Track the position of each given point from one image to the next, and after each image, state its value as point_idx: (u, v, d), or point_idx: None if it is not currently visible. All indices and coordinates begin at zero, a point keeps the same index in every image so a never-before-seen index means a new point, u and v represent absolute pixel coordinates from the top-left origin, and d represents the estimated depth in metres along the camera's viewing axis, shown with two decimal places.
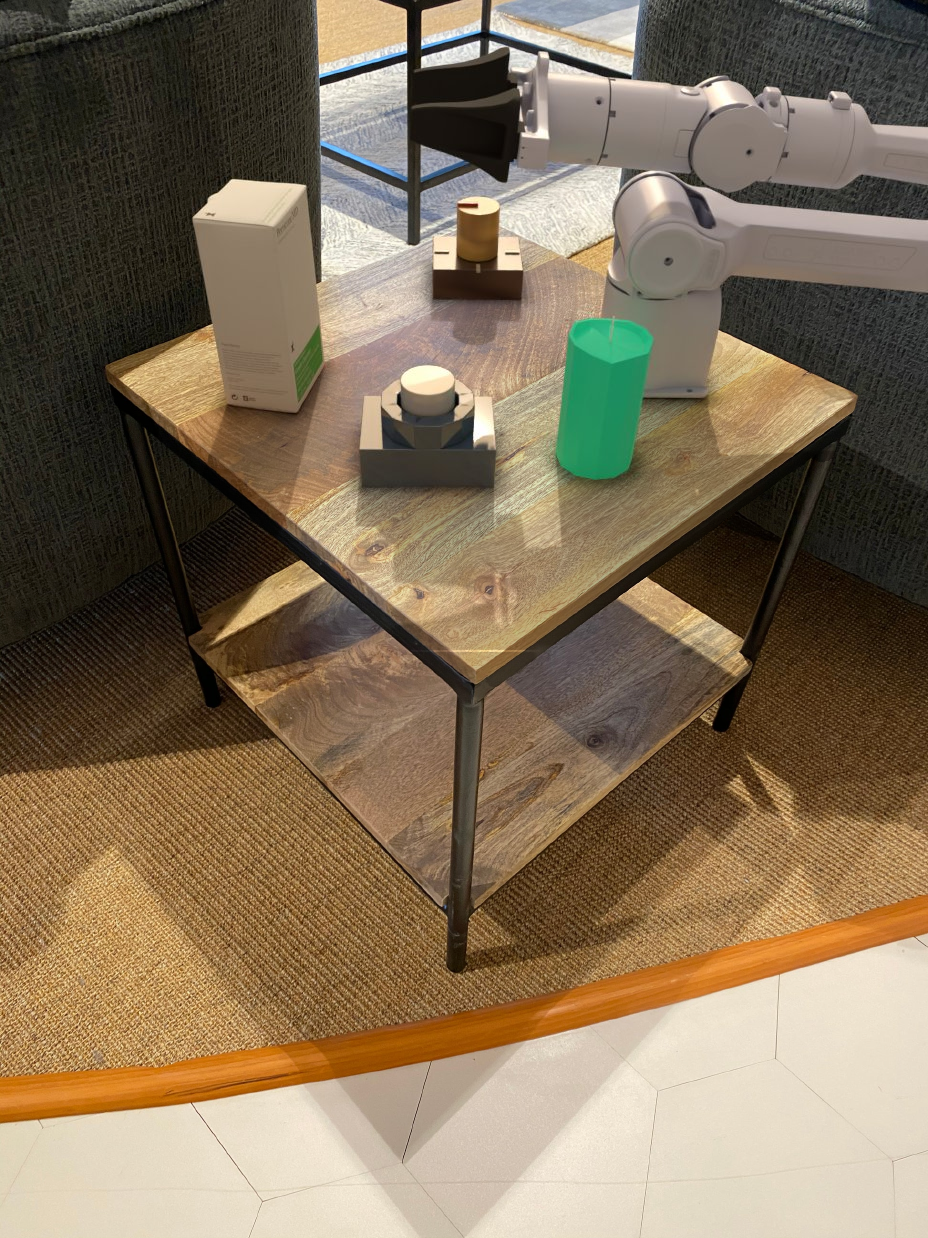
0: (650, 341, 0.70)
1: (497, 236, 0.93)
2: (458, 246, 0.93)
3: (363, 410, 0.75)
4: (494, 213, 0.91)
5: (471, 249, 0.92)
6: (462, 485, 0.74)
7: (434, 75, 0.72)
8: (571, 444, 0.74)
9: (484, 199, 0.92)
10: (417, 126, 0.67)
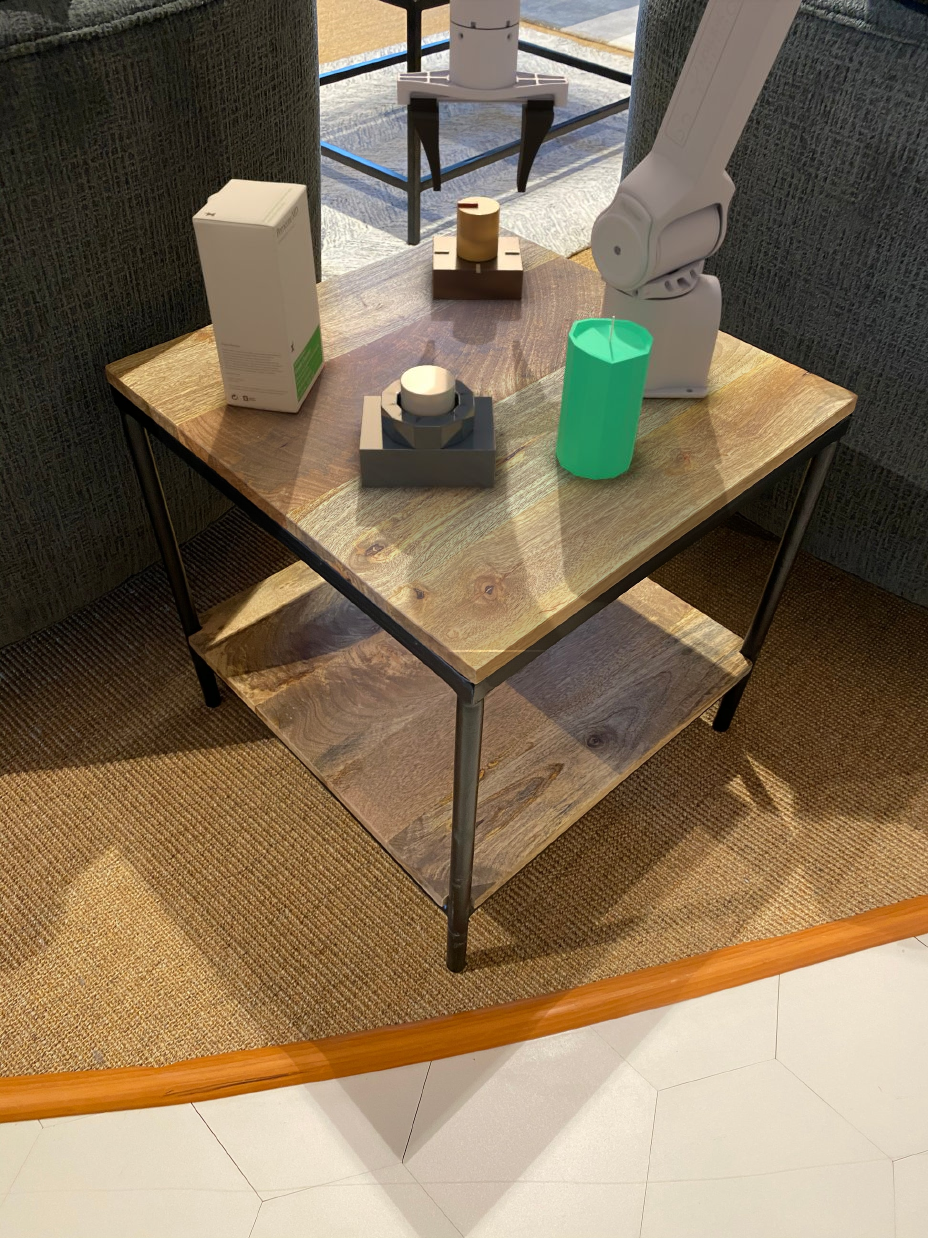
0: (650, 341, 0.70)
1: (497, 236, 0.93)
2: (458, 246, 0.93)
3: (363, 410, 0.75)
4: (494, 213, 0.91)
5: (471, 249, 0.92)
6: (462, 485, 0.74)
7: None
8: (571, 444, 0.74)
9: (484, 199, 0.92)
10: None
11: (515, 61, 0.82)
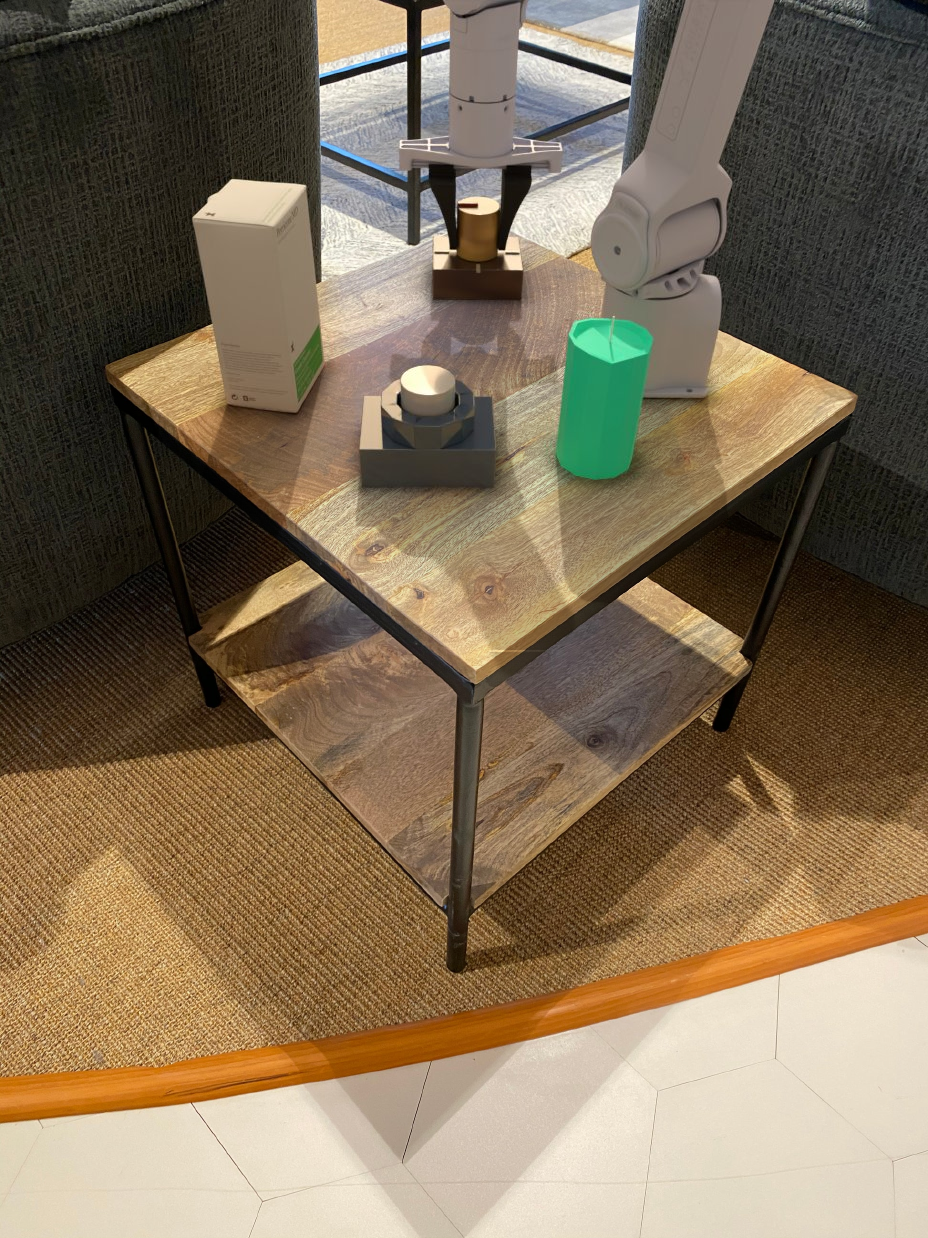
0: (650, 341, 0.70)
1: (497, 236, 0.93)
2: (458, 246, 0.93)
3: (363, 410, 0.75)
4: (494, 213, 0.91)
5: (471, 249, 0.92)
6: (462, 485, 0.74)
7: None
8: (571, 444, 0.74)
9: (484, 199, 0.92)
10: None
11: (512, 130, 0.86)
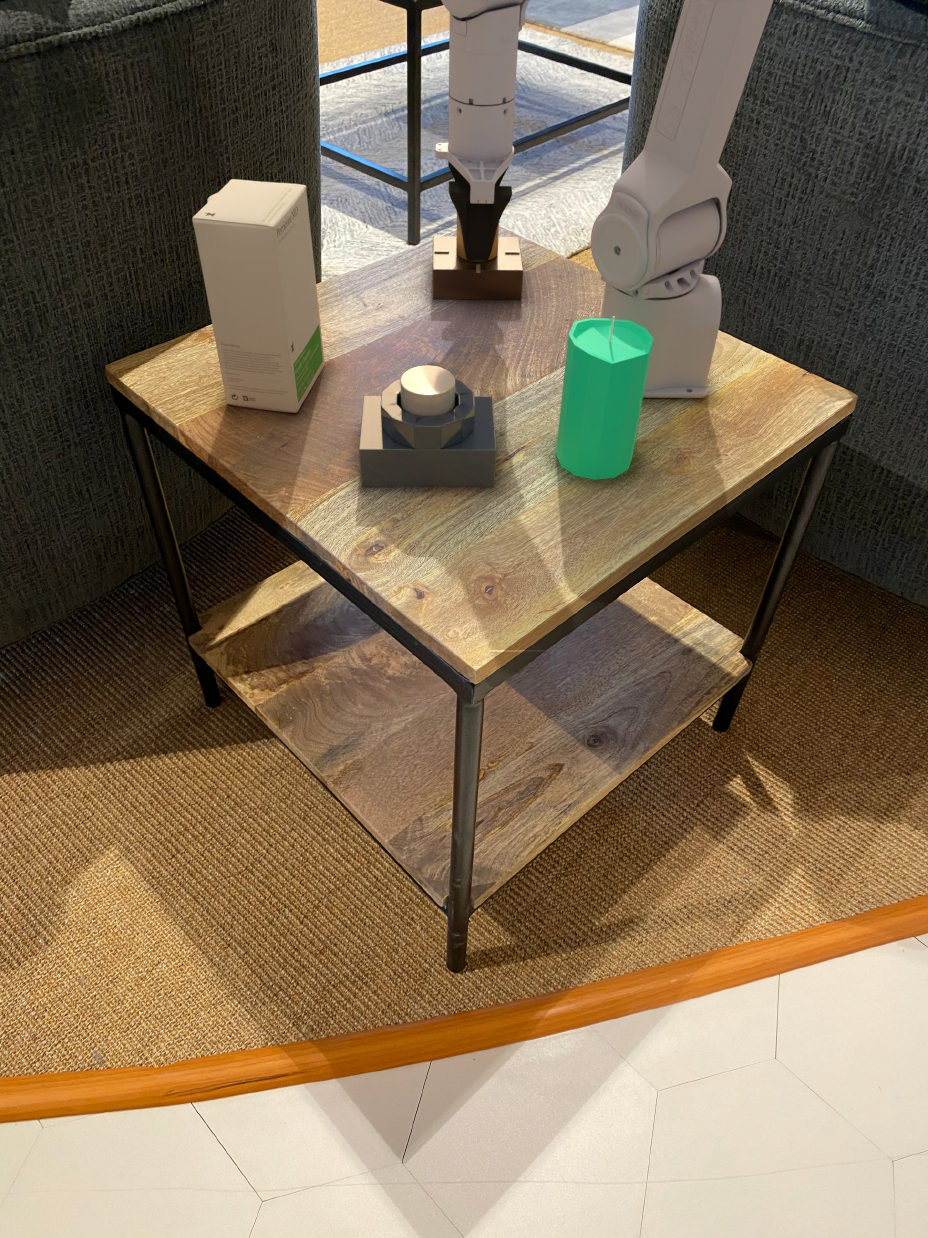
0: (650, 341, 0.70)
1: None
2: None
3: (363, 410, 0.75)
4: None
5: (497, 243, 0.93)
6: (462, 485, 0.74)
7: None
8: (571, 444, 0.74)
9: None
10: (478, 255, 0.92)
11: None
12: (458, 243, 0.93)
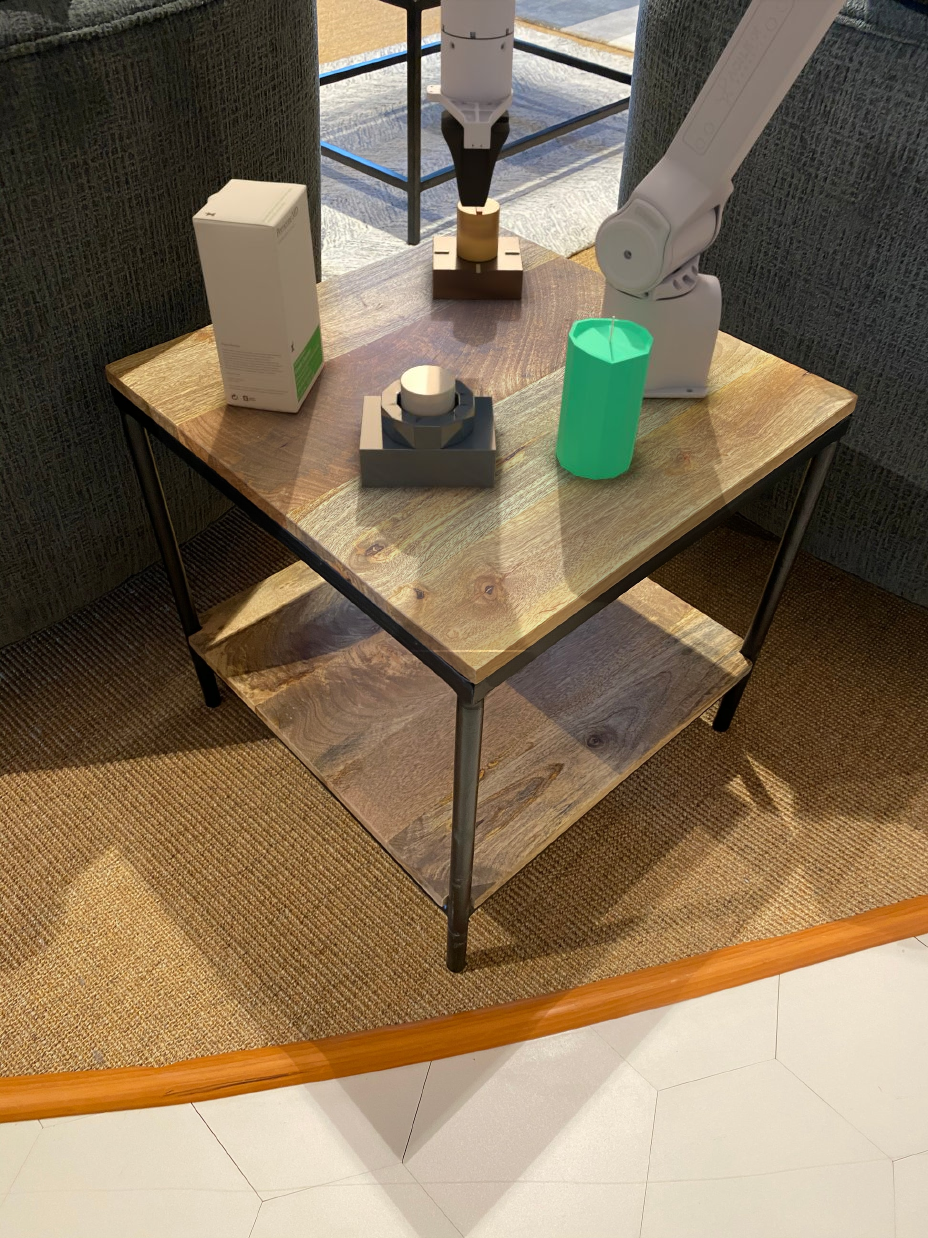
0: (650, 341, 0.70)
1: None
2: (487, 251, 0.93)
3: (363, 410, 0.75)
4: (493, 200, 0.93)
5: (497, 243, 0.93)
6: (462, 485, 0.74)
7: None
8: (571, 444, 0.74)
9: None
10: (473, 201, 0.85)
11: None
12: (458, 243, 0.93)
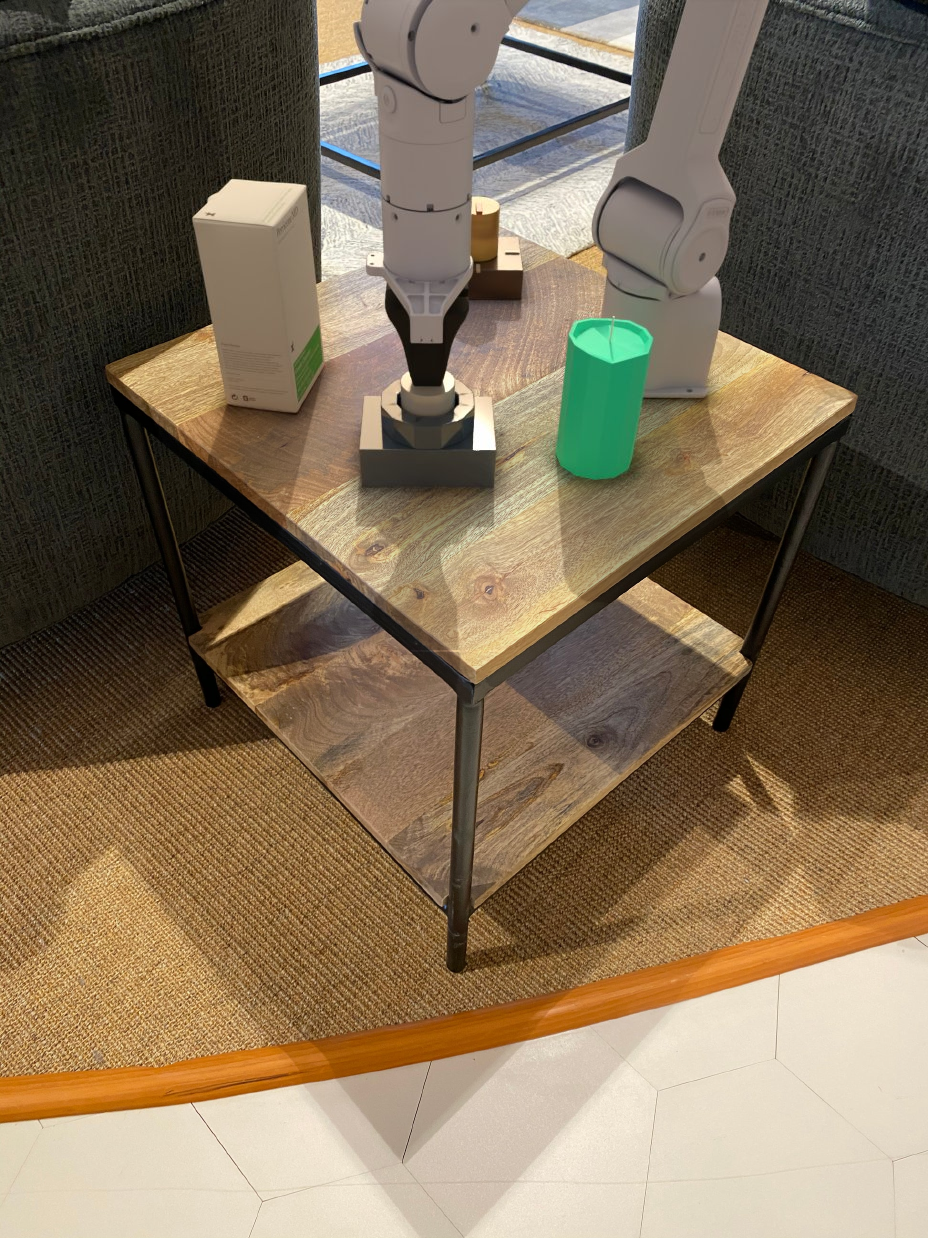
0: (650, 341, 0.70)
1: None
2: (487, 251, 0.93)
3: (363, 410, 0.75)
4: (493, 200, 0.93)
5: (497, 243, 0.93)
6: (462, 485, 0.74)
7: None
8: (571, 444, 0.74)
9: None
10: (427, 381, 0.71)
11: None
12: None
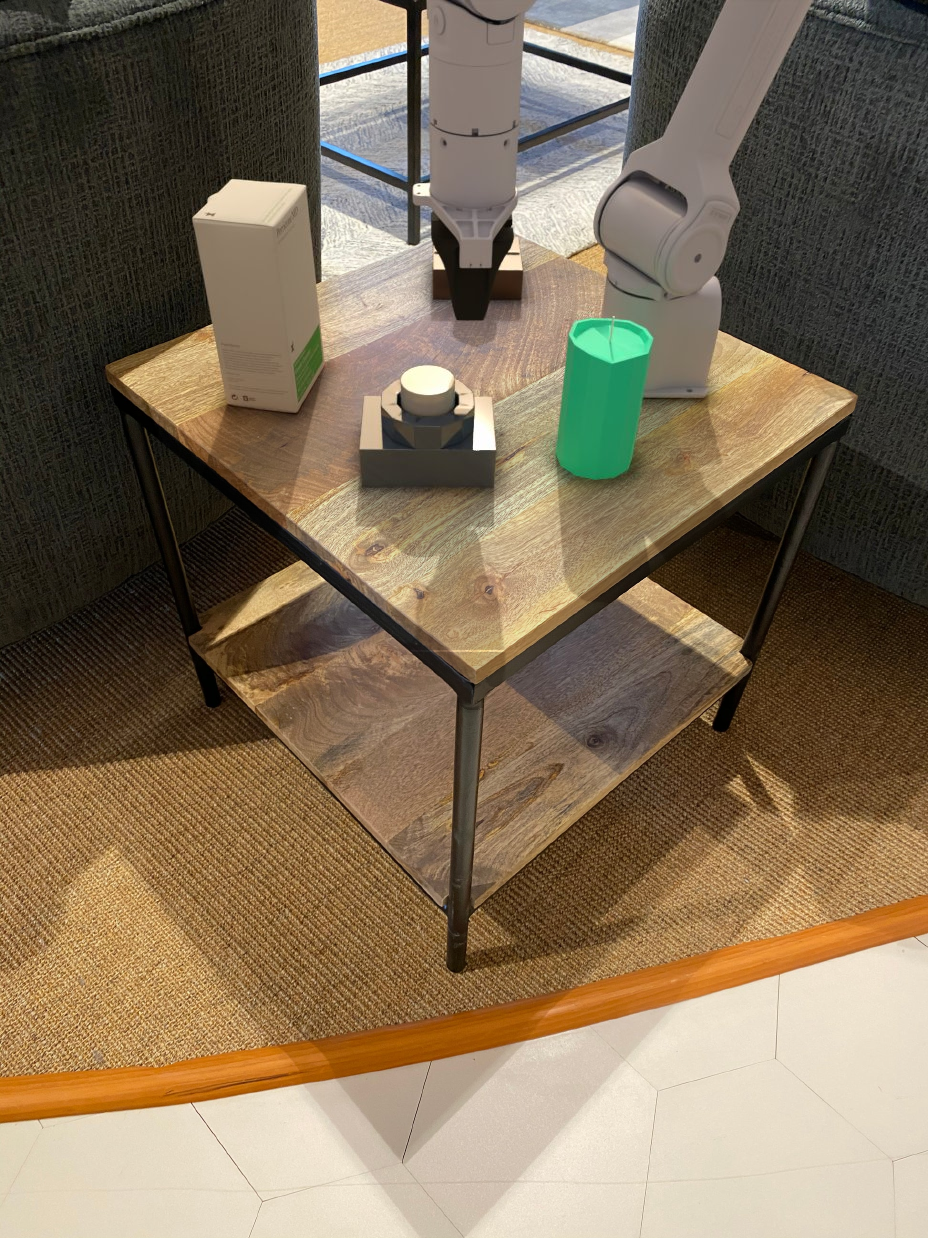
0: (650, 341, 0.70)
1: None
2: None
3: (363, 410, 0.75)
4: None
5: None
6: (462, 485, 0.74)
7: None
8: (571, 444, 0.74)
9: None
10: (470, 314, 0.72)
11: None
12: None
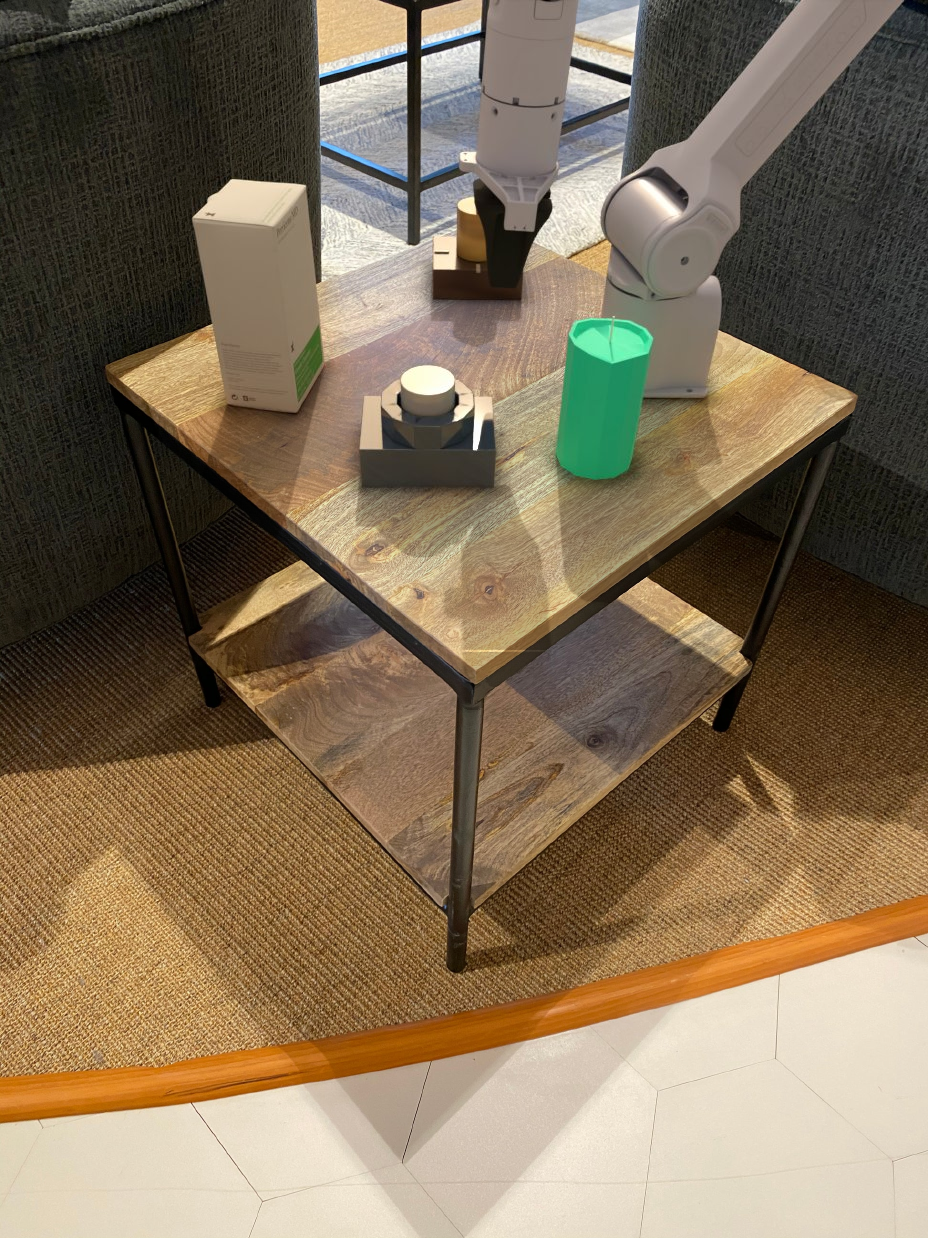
0: (650, 341, 0.70)
1: None
2: None
3: (363, 410, 0.75)
4: None
5: None
6: (462, 485, 0.74)
7: None
8: (571, 444, 0.74)
9: (464, 202, 0.92)
10: (504, 282, 0.75)
11: None
12: (458, 243, 0.93)
